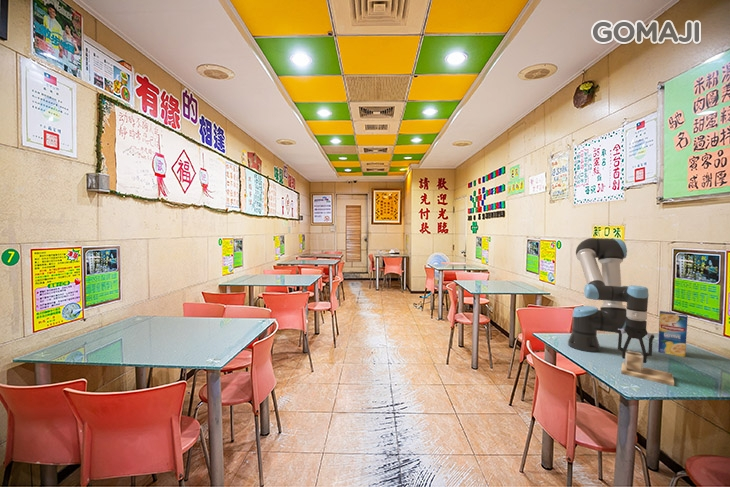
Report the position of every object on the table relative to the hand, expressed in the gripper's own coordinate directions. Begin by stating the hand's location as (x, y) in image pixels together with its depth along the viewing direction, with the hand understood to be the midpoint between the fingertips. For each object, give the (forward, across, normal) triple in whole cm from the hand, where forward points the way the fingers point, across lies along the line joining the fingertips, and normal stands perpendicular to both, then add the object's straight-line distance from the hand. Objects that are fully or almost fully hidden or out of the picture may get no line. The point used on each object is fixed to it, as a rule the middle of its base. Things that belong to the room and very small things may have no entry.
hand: (633, 367), depth 153 cm
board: (+2, +5, 0) cm, 5 cm away
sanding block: (+1, 0, 0) cm, 1 cm away
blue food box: (+3, +16, +48) cm, 50 cm away
